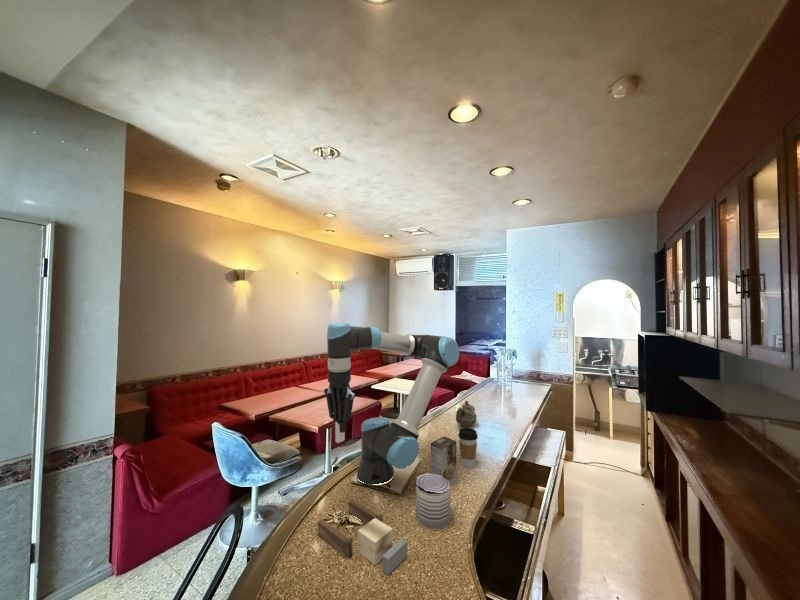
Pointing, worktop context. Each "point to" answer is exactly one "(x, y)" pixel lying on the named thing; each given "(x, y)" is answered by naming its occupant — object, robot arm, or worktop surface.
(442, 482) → the can
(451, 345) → the robot arm
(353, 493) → the worktop surface
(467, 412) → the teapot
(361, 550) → the block
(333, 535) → the chute
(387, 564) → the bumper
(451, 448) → the coffee box
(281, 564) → the worktop surface
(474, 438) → the coffee cup
